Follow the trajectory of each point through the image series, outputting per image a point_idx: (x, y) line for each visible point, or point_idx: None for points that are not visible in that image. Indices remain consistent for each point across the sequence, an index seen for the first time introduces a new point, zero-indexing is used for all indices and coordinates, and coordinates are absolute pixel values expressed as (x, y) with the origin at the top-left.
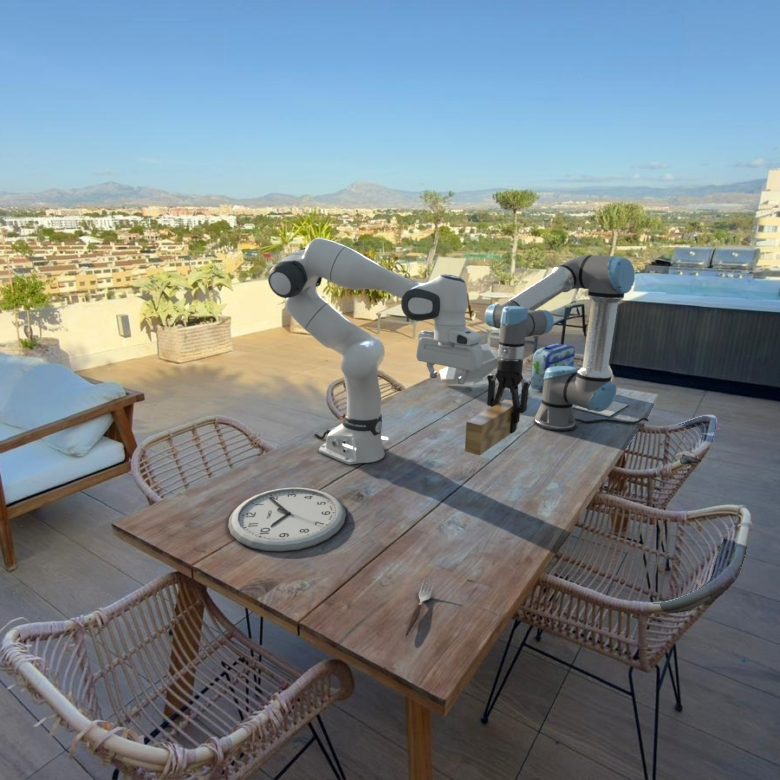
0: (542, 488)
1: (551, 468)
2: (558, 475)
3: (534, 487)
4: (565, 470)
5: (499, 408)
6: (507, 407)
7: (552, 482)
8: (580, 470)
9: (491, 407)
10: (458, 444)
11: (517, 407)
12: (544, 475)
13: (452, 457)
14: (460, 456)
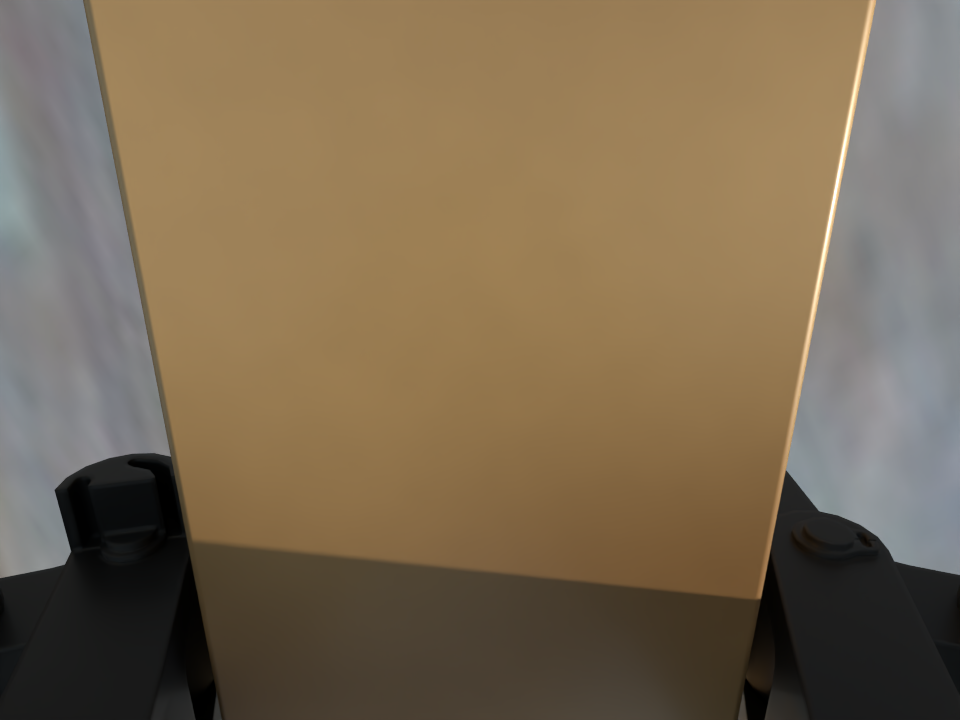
0: (8, 61)
1: (164, 442)
2: (63, 366)
3: (63, 33)
4: (77, 470)
5: (478, 189)
6: (281, 494)
7: (22, 224)
8: (8, 528)
9: (853, 76)
10: (948, 402)
11: (32, 680)
12: (134, 302)
13: (917, 127)
14: (856, 195)
